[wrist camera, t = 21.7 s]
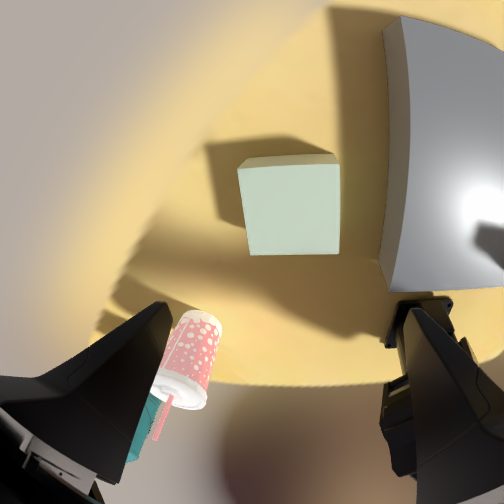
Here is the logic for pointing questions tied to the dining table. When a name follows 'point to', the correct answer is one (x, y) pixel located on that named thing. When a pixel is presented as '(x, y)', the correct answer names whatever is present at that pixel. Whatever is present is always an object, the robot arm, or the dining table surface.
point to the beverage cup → (187, 364)
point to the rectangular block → (291, 204)
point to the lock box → (443, 160)
